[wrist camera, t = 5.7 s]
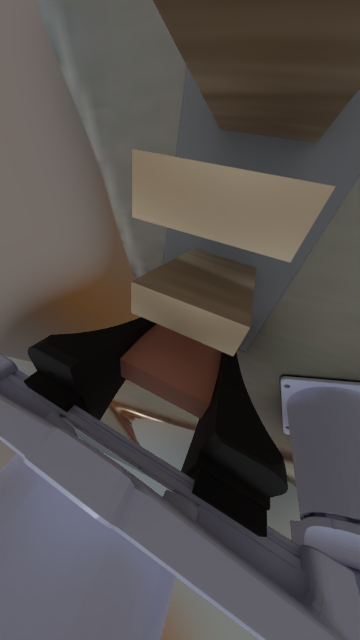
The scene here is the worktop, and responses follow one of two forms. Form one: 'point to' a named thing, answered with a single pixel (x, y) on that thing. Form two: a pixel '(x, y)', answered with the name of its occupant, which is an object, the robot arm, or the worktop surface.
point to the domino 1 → (270, 61)
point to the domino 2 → (226, 203)
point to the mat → (276, 159)
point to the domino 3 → (199, 298)
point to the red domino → (173, 368)
